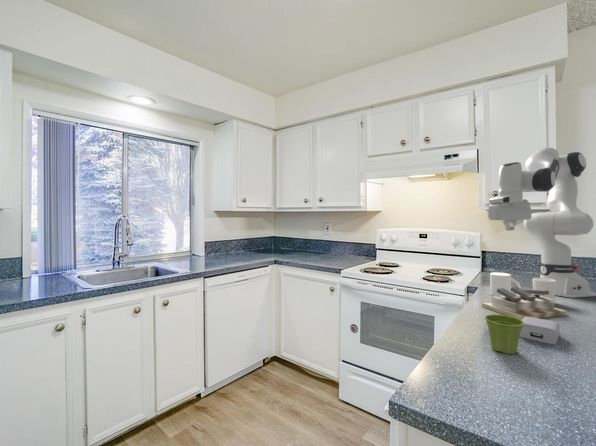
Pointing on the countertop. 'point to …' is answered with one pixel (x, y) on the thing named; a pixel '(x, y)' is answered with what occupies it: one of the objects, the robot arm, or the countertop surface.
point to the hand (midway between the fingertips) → (510, 230)
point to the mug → (501, 283)
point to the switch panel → (520, 316)
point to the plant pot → (504, 332)
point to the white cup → (545, 286)
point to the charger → (540, 330)
